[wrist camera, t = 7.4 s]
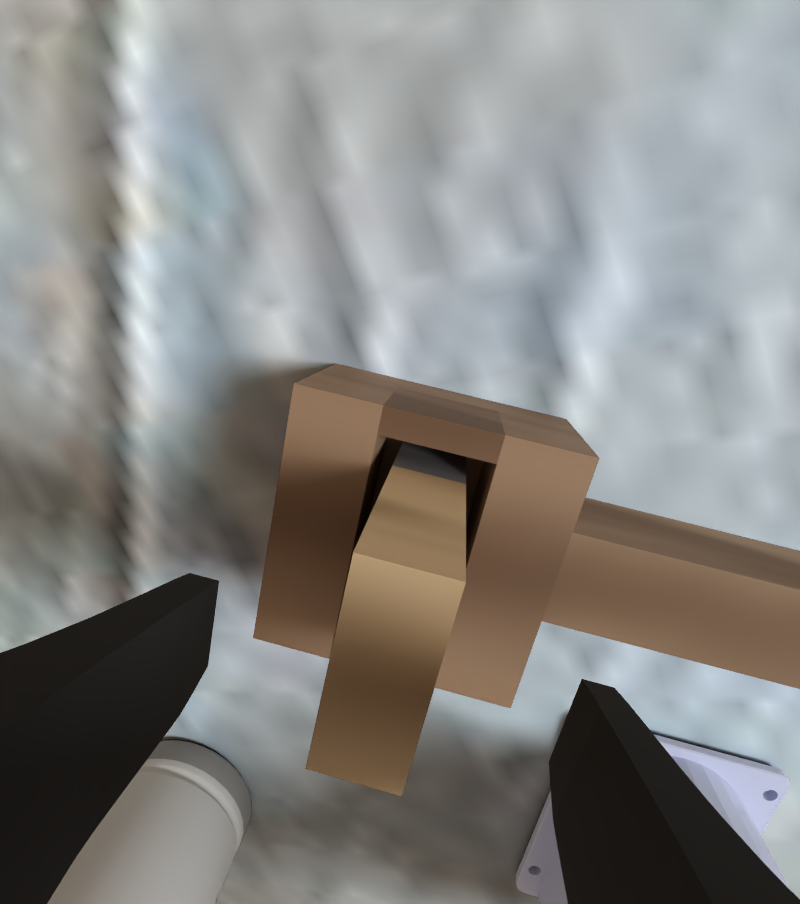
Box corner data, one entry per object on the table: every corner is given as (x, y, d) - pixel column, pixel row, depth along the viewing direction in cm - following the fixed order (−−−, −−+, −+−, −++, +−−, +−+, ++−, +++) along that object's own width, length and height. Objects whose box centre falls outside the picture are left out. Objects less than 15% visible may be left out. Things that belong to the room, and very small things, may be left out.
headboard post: (1105, 779, 19) (1298, 923, 14) (298, 566, 20) (253, 637, 16) (1264, 587, 16) (1554, 692, 12) (335, 363, 18) (293, 383, 13)
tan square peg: (429, 586, 18) (402, 796, 10) (373, 571, 18) (305, 768, 10) (466, 452, 17) (465, 582, 9) (405, 437, 17) (353, 551, 9)
